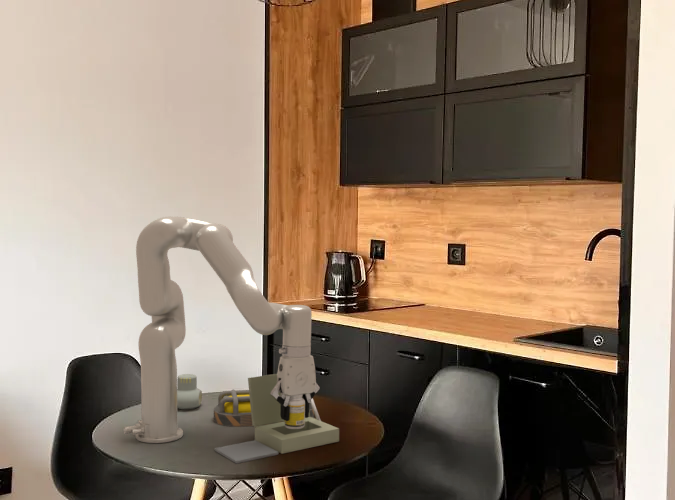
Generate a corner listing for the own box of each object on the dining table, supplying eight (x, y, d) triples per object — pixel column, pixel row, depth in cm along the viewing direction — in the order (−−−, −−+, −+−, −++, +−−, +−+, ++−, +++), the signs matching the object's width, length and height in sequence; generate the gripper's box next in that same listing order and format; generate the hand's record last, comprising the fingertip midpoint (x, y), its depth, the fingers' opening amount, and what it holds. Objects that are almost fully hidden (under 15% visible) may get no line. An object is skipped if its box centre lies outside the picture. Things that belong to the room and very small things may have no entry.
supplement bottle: (286, 423, 202) (287, 387, 201) (306, 424, 201) (307, 389, 200) (282, 428, 196) (283, 392, 196) (302, 430, 196) (303, 393, 195)
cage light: (212, 388, 224) (310, 384, 230) (212, 414, 225) (310, 410, 231) (214, 400, 210) (318, 396, 216) (214, 428, 210) (318, 423, 216)
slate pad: (236, 463, 180) (236, 461, 180) (214, 450, 190) (214, 448, 190) (278, 454, 187) (278, 452, 187) (255, 442, 197) (255, 440, 197)
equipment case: (281, 453, 188) (282, 390, 187) (247, 436, 202) (247, 377, 201) (342, 440, 199) (342, 380, 198) (305, 424, 213) (306, 368, 213)
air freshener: (197, 412, 226) (197, 379, 226) (170, 412, 226) (170, 379, 226) (202, 402, 237) (202, 372, 237) (177, 402, 237) (176, 372, 237)
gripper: (276, 356, 190) (274, 426, 190) (330, 351, 200) (328, 417, 201) (261, 351, 196) (260, 419, 197) (315, 346, 206) (313, 410, 207)
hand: (294, 417), depth 198 cm, fingers closed on supplement bottle, 5 cm apart
